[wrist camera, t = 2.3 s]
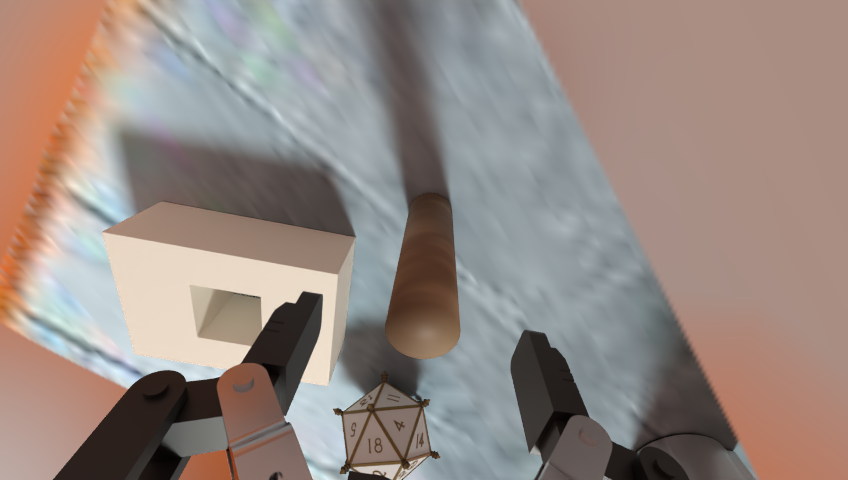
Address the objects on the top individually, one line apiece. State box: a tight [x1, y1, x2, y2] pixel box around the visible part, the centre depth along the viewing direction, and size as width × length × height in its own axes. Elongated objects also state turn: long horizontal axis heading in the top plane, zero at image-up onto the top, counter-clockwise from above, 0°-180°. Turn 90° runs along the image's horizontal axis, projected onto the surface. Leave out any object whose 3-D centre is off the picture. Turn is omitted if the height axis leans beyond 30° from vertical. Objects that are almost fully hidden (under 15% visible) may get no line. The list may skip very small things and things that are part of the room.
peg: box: [385, 193, 460, 359], centre depth 19 cm, size 3×3×12 cm
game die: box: [333, 372, 440, 480], centre depth 30 cm, size 9×8×10 cm
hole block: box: [102, 201, 356, 386], centre depth 26 cm, size 14×10×5 cm
